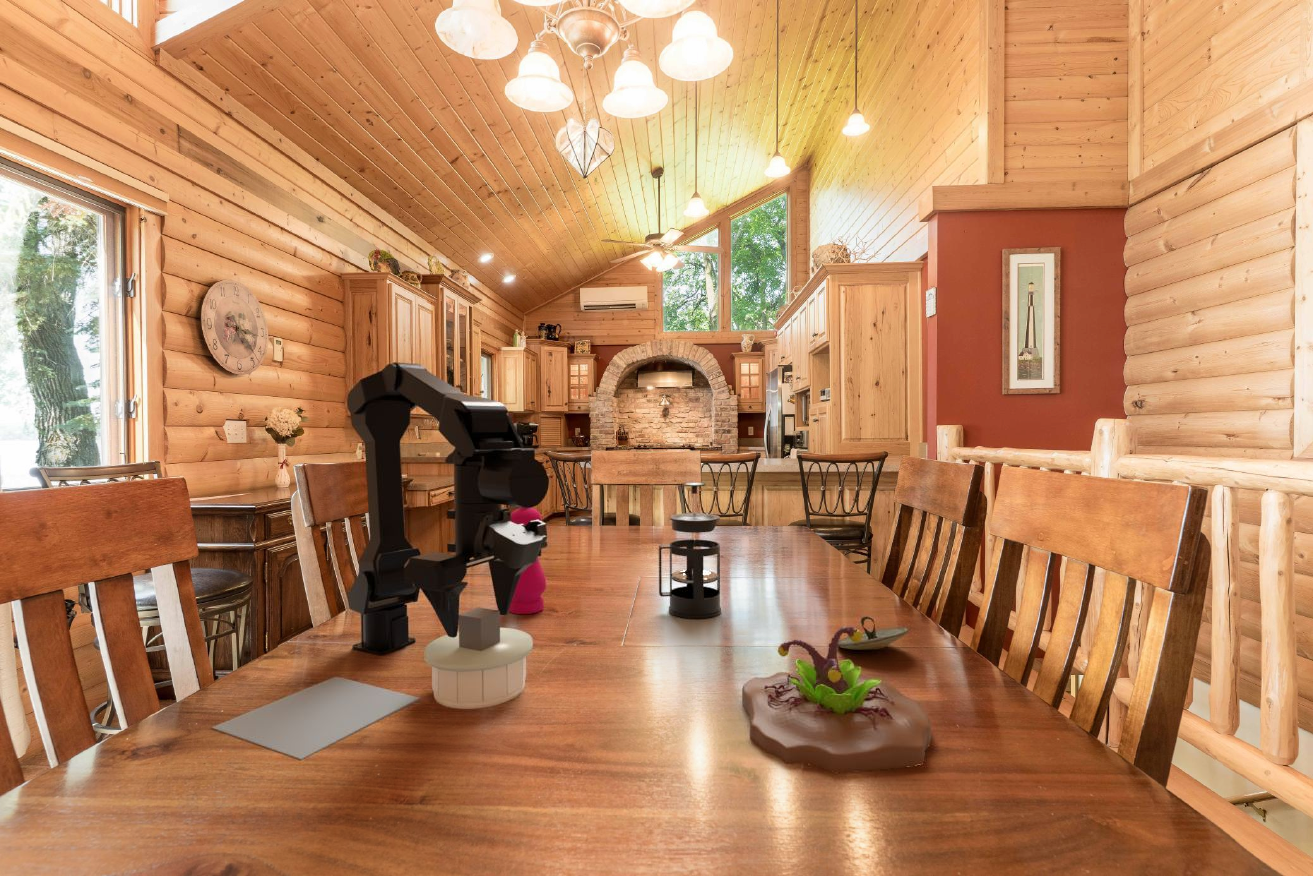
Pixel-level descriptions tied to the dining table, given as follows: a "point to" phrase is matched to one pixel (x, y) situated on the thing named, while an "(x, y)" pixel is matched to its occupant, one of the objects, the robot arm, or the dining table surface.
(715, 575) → the french press
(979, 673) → the dining table surface
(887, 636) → the lid
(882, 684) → the plant
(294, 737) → the mat
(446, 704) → the bowl
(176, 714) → the dining table surface
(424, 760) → the dining table surface
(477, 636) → the cover
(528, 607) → the pepper mill
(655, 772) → the dining table surface
